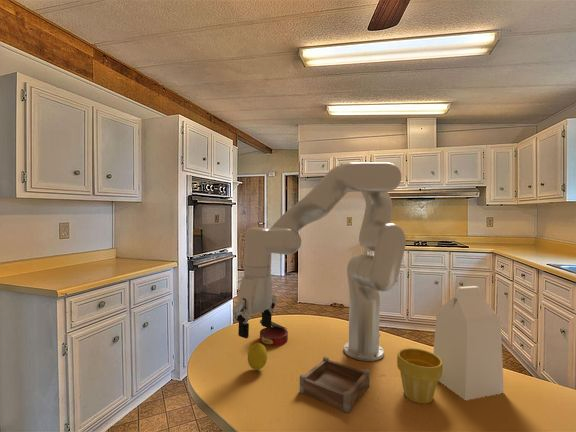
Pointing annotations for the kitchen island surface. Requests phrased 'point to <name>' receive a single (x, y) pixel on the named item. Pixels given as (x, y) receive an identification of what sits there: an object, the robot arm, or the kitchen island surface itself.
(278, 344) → the canned food
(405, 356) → the plant pot
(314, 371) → the wooden square tray
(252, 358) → the lemon
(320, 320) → the kitchen island surface
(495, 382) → the milk
